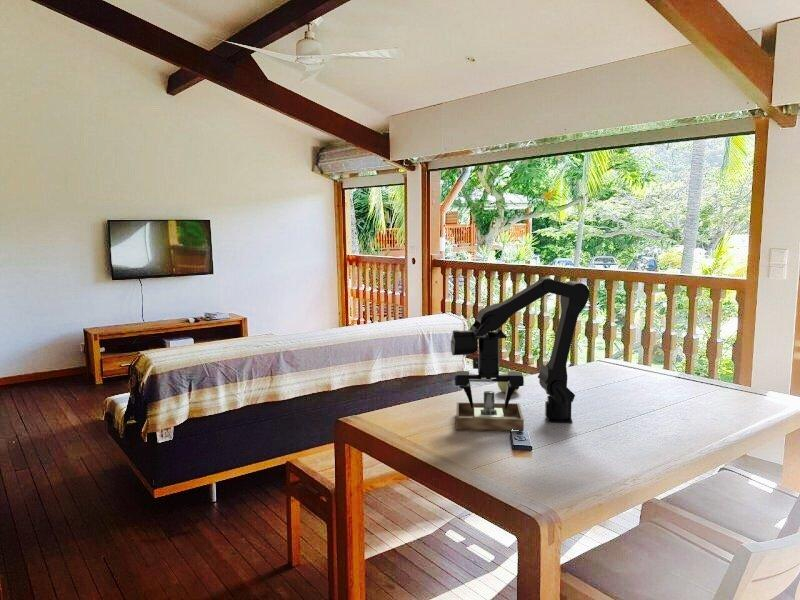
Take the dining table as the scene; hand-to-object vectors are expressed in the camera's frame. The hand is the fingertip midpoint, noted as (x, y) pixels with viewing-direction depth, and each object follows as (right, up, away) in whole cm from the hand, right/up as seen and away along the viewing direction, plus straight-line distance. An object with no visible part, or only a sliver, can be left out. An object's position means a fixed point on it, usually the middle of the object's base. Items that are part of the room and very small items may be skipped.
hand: (488, 408), depth 167 cm
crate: (0, -4, +1) cm, 4 cm away
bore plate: (0, -4, +1) cm, 4 cm away
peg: (0, -4, +1) cm, 4 cm away
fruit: (+11, 0, +29) cm, 31 cm away
